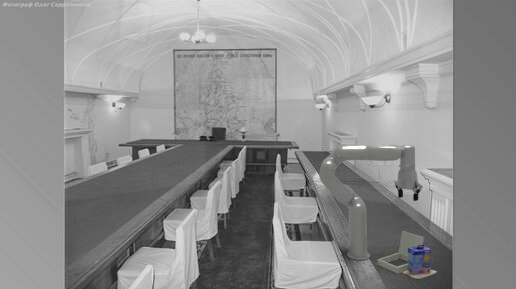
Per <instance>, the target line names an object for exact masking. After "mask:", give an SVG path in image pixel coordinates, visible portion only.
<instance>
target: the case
mask: <svg viewBox="0 0 516 289" xmlns="http://www.w3.org/2000/svg"><path fill="white" fill-rule="evenodd" d="M424 240H425V237H424V236H421V235H417V234H415V233H411V232H408V231H405V230H402V231H401V237H400V242H399V247H398V248H399V250H398V252H396V253H392V254H390V255H387V256H384V257H381V258H378V259H377V266H379V267H382V268H383V269H386V270H388V271H390V272H392V273H395V274H400V273H403V272H404V271H407V270H408V248H411V247H417V246H418V245H424ZM399 259H400V260H403V261H404V262H406V263H404V264H401V265H398V266H397V265H394V264H392V263H390V262H393V261H396V260H399Z"/></svg>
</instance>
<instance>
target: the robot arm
mask: <svg viewBox="0 0 516 289" xmlns="http://www.w3.org/2000/svg"><path fill="white" fill-rule="evenodd" d="M397 160H399V165H398V167H399V170H398V173H397V180H395V181H393V182H394V185H395V188H396V190H397V191H398V192H397V198H399V199H401V198H403V197H404V190H410V191H412V192H413V194H412V199H413V202H416V201H417V202H418V201H419V193H420V192H422V189H423V188H424V187H423V185H422V184H420V183H419V181H418V173H417V170H416V146H414V145H412V144H405V145H404V144H403V145H397V144H396V145H395V144H389V145H387V146H374V145H369V144H352V145H351V144H350V145H349V144H348V145H347V144H340V145H338V146H337V147H336V148H334V150H332V151H331V153H330V154H329V155H328V156H326V157H325V158H324V159H323V160H322V162H321V165H320V168H319V173H318V174H319V175H318V176H319V180H320V181H321V184H322V185H323V186H324V187H325V188H326V189H327V190H328V191H329V193H330V194H331V195H332V196H333V197H334V198H335V199H336V200H337V201H338V202H339V203H340V204H342V205H343V204H344V206H345V207H346V208H347V209H348V232H349V234H348V235H349V236H348V238H349V243H348V244H347V245H346V247H345V248H346V249H347V250H348V251H347V253H346V256H347V258H349V259H352V260H356V261H364V260H368V259H369V258H370V257H371V254H370V253H369V252H368V241H367V240H368V238H367V231H368V230H367V217H368V216H367V206H366V204H365V202H364V200H363V199H362V197H360V196H359V194H357V193H356V191H354V190H353V189H352V187H351V186H349V185H347V184H345V183H343V182H342V181H340V179H339V177H337V176H336V174H335V173H336V170H337V168H338V167H339V166H340V165H341V164H342V163H343V162H345V161H378V162H379V161H380V162H385V161H387V162H389V161H390V162H393V161H394V162H395V161H397Z"/></svg>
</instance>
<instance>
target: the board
mask: <svg viewBox="0 0 516 289" xmlns="http://www.w3.org/2000/svg"><path fill="white" fill-rule="evenodd" d="M402 274H404V275H406V276H409V277H411V278H413V279H415V280H417V279H418V280H417V281H419V279H420V280H422V279H425V278H427V277H430V276H431V275H432V276H433V275H435V274H437V270H434V269H431V272H430V273H424V274H418V275H413V274H412V273H411V272H409V271H408V270H407V271H404V272H402Z"/></svg>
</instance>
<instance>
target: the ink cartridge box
mask: <svg viewBox="0 0 516 289" xmlns="http://www.w3.org/2000/svg"><path fill="white" fill-rule="evenodd" d="M407 263H408V271H409V272H411V273H412V274H413V275H418V274H424V273H430V272H431V270H432V269H431V268H432V266H431V265H432V249H431V248H429V247H427V246H425V244H423V245H418V246H417V247H411V248H408V262H407Z"/></svg>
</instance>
